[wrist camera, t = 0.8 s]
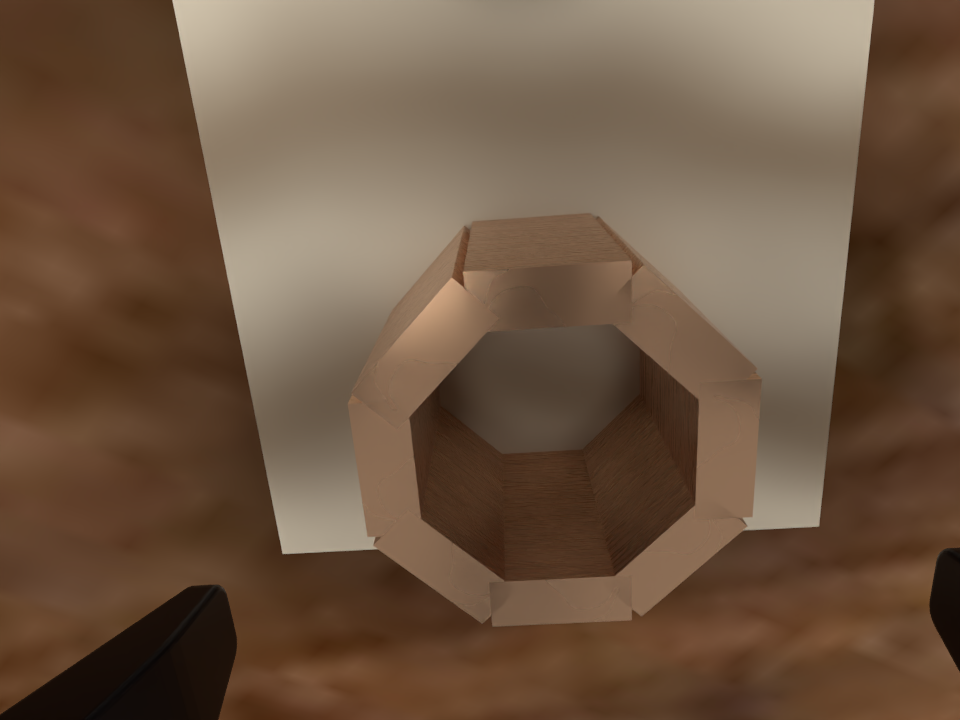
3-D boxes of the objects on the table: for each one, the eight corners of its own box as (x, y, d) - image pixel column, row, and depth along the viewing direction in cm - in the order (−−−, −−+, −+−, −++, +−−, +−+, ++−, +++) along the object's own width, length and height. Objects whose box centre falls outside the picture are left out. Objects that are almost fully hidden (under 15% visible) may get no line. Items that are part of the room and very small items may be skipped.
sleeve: (679, 479, 18) (745, 615, 13) (410, 494, 18) (381, 631, 13) (686, 206, 15) (771, 250, 11) (378, 227, 16) (329, 280, 11)
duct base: (795, 495, 20) (932, 674, 13) (297, 522, 20) (211, 704, 14) (883, -469, 13) (1241, -996, 7) (127, -386, 13) (-182, -799, 7)
